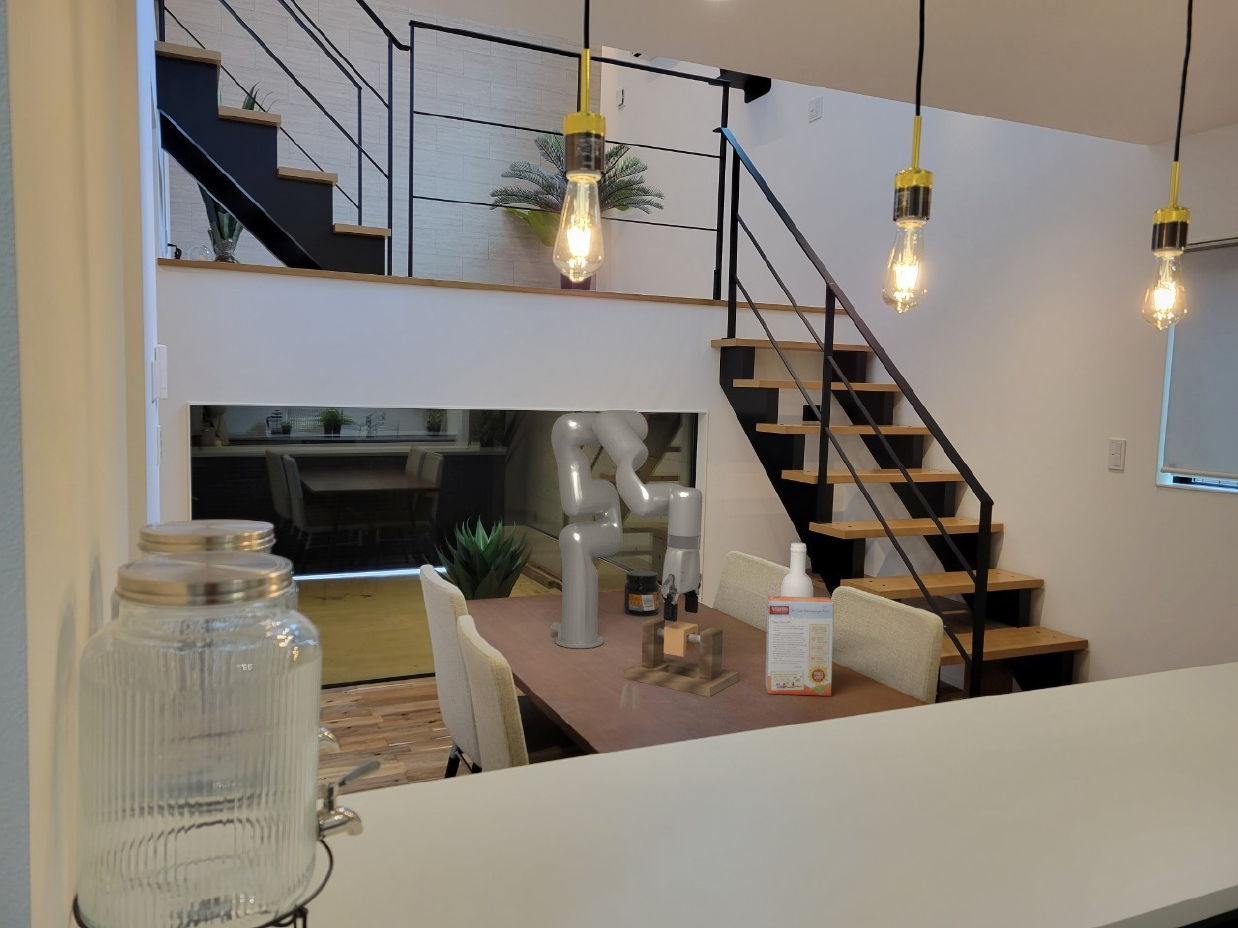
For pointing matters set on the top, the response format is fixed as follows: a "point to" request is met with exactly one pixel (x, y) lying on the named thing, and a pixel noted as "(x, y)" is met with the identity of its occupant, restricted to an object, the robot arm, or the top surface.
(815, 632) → the cracker box
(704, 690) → the tan frame
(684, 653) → the notched block
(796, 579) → the bottle
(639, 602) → the supplement container
